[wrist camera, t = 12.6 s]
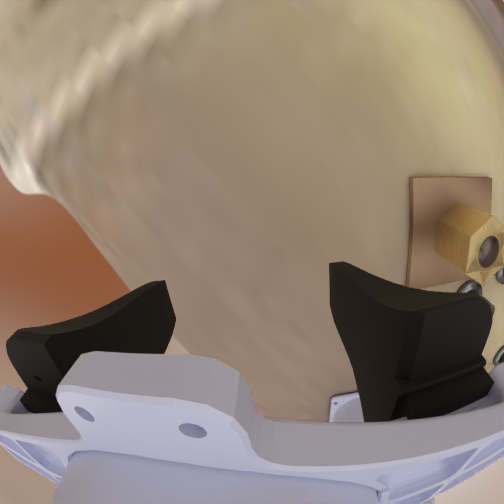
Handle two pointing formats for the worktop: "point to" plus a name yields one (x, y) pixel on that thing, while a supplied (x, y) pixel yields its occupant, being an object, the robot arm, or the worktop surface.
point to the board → (425, 218)
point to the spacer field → (473, 286)
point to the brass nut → (471, 241)
